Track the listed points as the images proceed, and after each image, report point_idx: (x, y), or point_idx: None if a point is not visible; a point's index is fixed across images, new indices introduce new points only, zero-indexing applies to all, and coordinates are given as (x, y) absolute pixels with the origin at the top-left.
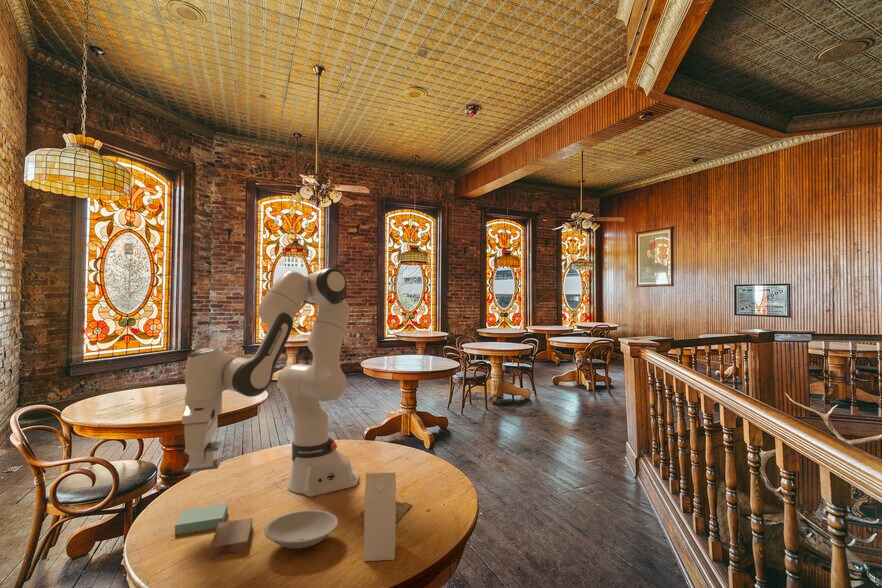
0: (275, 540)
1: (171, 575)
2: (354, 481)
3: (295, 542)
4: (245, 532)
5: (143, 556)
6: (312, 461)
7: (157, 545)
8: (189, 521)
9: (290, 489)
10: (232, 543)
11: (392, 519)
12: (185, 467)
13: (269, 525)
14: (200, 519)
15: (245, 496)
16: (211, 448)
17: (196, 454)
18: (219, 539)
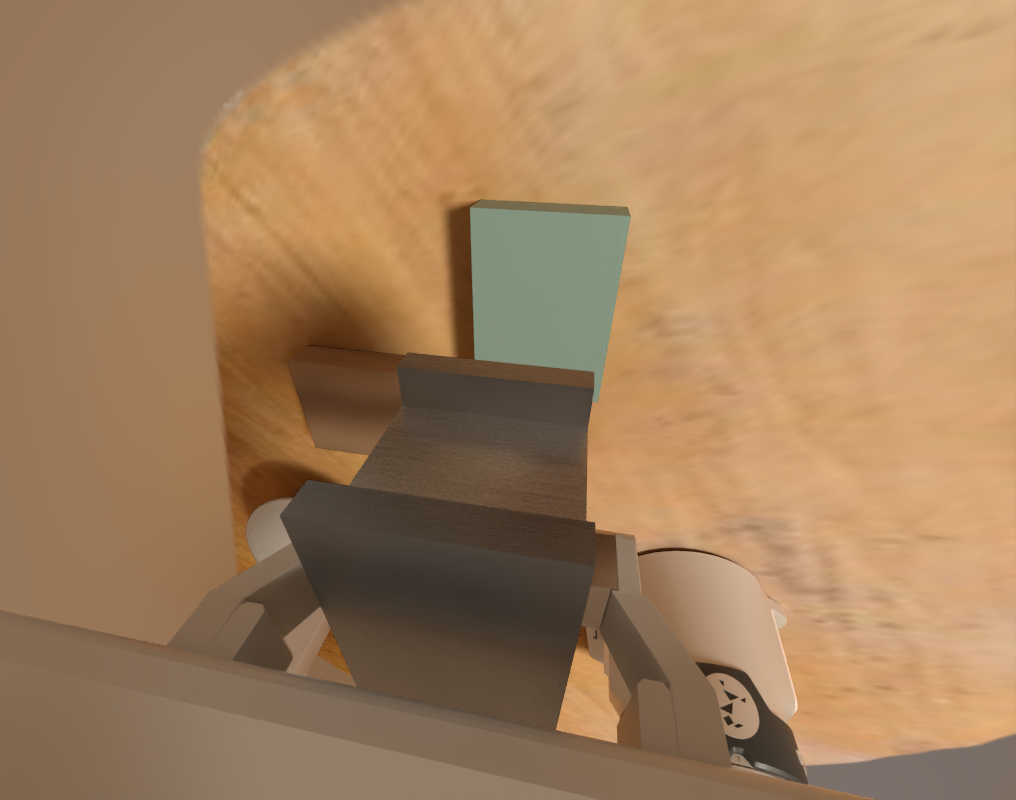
0: (252, 513)
1: (228, 248)
2: (601, 659)
3: (248, 540)
4: (360, 446)
5: (337, 97)
6: (619, 696)
7: (413, 138)
8: (486, 269)
9: (658, 554)
10: (306, 415)
11: None
12: (445, 376)
13: None
14: (489, 312)
15: (712, 438)
16: (356, 684)
17: (246, 584)
18: (329, 384)
